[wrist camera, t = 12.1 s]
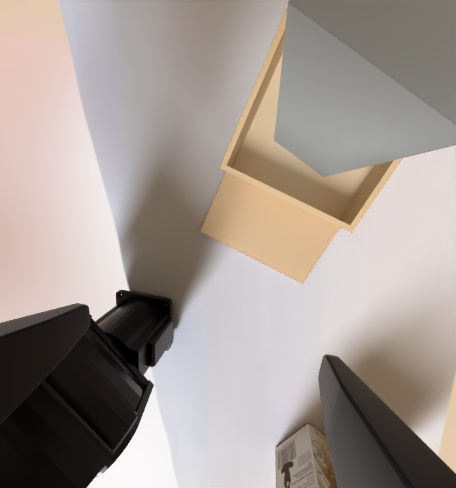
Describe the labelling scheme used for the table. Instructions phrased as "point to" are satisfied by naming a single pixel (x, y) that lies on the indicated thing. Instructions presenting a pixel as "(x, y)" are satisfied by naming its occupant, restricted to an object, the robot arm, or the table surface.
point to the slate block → (366, 81)
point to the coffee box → (305, 461)
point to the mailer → (283, 188)
